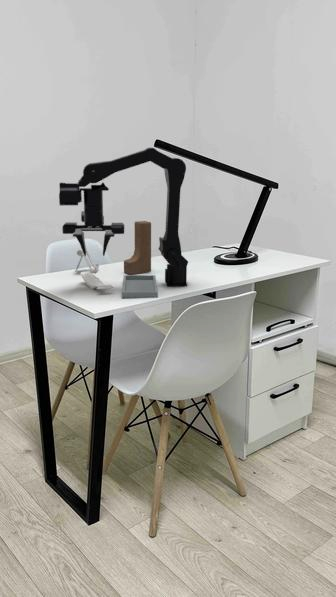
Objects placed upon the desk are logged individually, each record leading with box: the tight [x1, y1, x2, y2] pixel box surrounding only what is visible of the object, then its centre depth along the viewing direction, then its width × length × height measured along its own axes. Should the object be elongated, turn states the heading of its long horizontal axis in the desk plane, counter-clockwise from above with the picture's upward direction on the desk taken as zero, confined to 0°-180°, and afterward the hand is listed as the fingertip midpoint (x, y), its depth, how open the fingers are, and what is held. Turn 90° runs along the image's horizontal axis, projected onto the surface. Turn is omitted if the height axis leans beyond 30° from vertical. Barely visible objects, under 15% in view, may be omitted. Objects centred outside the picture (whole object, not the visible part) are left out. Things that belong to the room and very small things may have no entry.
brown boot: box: [123, 220, 152, 275], centre depth 198 cm, size 9×4×18 cm, turn 123°
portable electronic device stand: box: [75, 246, 100, 274], centre depth 201 cm, size 9×8×8 cm
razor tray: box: [121, 274, 159, 300], centre depth 176 cm, size 11×23×2 cm, turn 3°
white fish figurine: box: [80, 271, 114, 290], centre depth 177 cm, size 6×18×4 cm, turn 29°
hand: (94, 255), depth 175 cm, fingers open, 5 cm apart
